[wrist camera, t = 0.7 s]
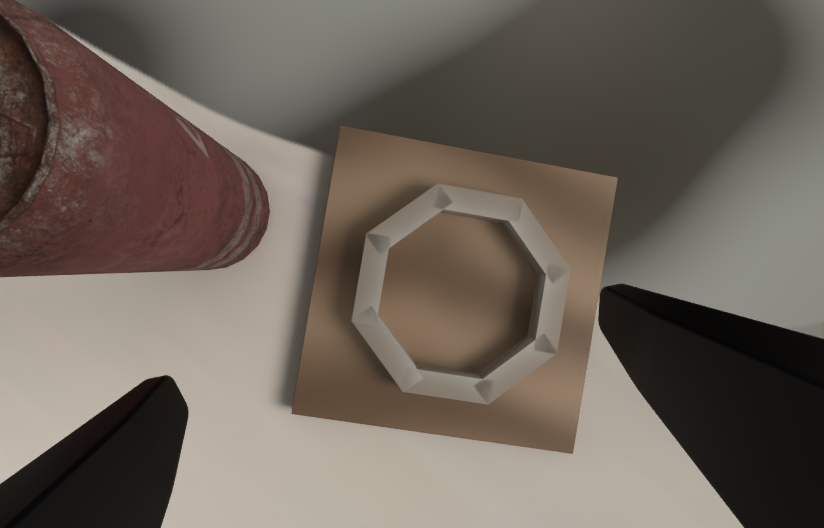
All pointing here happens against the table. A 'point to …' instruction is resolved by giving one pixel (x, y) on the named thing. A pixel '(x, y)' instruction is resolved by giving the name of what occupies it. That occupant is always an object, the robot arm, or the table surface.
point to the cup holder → (454, 292)
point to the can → (108, 168)
